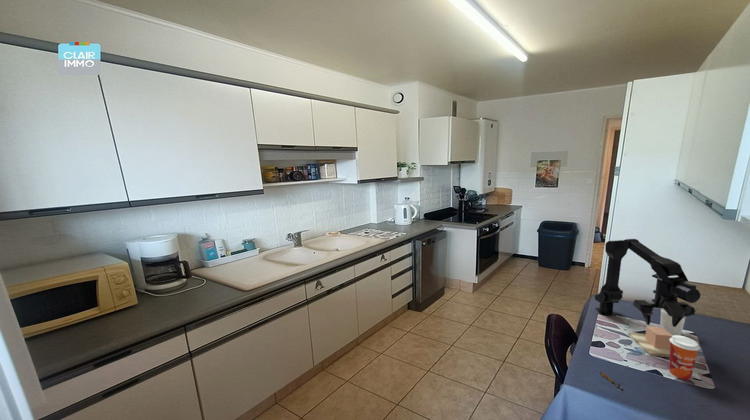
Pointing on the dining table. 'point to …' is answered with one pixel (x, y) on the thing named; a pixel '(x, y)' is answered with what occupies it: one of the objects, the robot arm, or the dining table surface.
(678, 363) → the paper cup
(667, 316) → the white cup
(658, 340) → the terracotta cube
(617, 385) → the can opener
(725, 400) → the dining table surface
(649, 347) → the birch board
